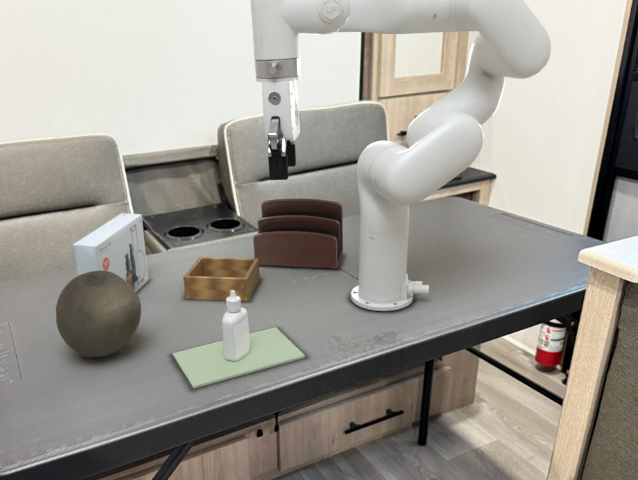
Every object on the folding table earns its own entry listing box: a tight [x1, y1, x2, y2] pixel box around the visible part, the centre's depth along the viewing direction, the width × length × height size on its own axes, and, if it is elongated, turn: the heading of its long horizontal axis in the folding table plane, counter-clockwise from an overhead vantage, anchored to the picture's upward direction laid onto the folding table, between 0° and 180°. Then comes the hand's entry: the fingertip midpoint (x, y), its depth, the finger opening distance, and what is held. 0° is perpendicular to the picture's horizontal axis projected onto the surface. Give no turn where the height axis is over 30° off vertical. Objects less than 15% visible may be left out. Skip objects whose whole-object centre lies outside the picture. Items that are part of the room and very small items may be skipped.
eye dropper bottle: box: [221, 290, 250, 361], centre depth 102 cm, size 4×6×12 cm
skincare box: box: [72, 212, 150, 293], centre depth 125 cm, size 21×5×16 cm, turn 168°
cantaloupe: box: [55, 270, 142, 358], centre depth 105 cm, size 14×14×15 cm
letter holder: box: [252, 198, 344, 270], centre depth 142 cm, size 10×20×14 cm, turn 78°
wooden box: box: [182, 256, 261, 302], centre depth 130 cm, size 14×12×5 cm
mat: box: [172, 326, 306, 390], centre depth 105 cm, size 20×12×1 cm, turn 116°
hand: (283, 172), depth 108 cm, fingers open, 9 cm apart
